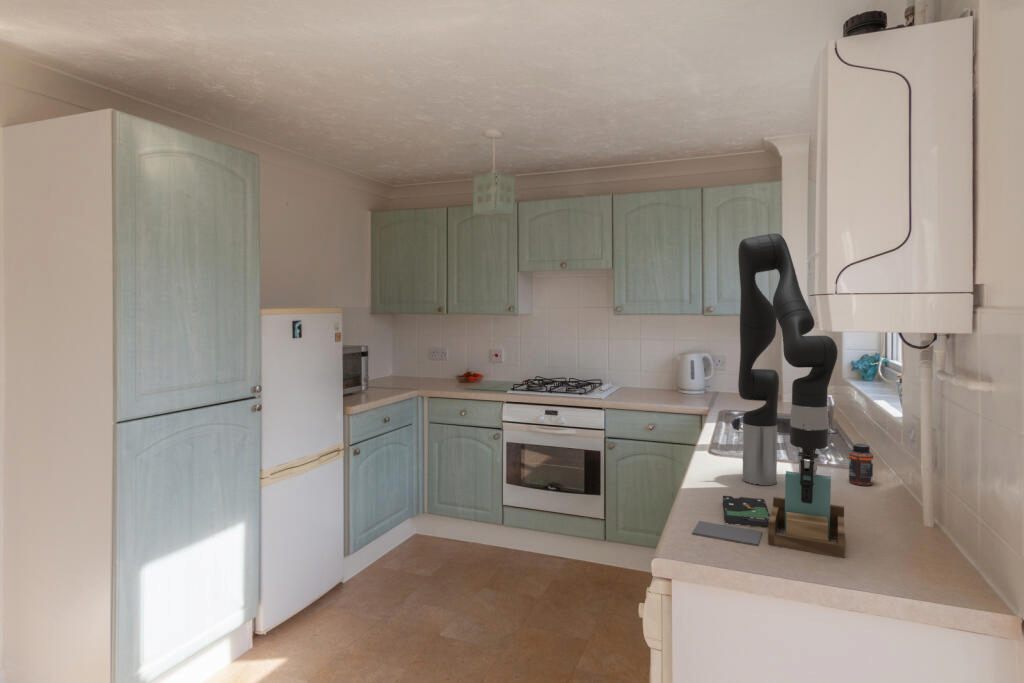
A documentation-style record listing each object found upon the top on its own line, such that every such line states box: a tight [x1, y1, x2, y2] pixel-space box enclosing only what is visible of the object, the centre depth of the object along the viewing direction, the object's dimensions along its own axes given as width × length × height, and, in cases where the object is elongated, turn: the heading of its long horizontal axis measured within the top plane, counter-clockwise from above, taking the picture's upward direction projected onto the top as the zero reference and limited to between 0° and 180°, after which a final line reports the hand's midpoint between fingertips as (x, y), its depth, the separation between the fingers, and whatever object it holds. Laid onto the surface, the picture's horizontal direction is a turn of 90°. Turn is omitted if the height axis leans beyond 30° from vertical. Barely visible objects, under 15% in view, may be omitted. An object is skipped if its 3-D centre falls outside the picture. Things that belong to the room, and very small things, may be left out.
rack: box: [767, 496, 846, 558], centre depth 127 cm, size 12×14×7 cm
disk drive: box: [722, 495, 771, 528], centre depth 143 cm, size 10×3×15 cm
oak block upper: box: [786, 512, 828, 539], centre depth 125 cm, size 5×8×3 cm, turn 63°
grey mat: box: [691, 520, 763, 547], centre depth 131 cm, size 8×14×1 cm, turn 61°
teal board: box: [783, 470, 832, 542], centre depth 129 cm, size 2×9×14 cm, turn 61°
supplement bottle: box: [848, 443, 874, 487], centre depth 166 cm, size 6×6×11 cm
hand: (807, 497), depth 129 cm, fingers open, 6 cm apart
